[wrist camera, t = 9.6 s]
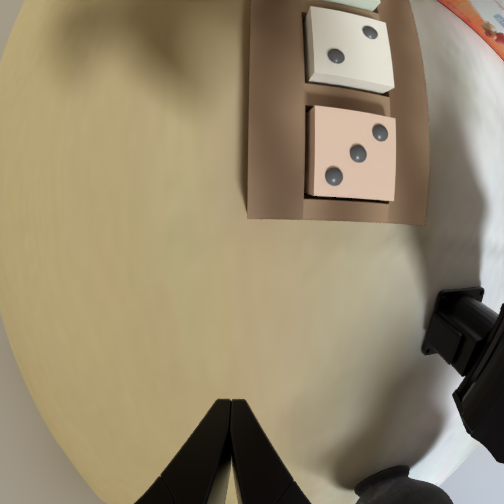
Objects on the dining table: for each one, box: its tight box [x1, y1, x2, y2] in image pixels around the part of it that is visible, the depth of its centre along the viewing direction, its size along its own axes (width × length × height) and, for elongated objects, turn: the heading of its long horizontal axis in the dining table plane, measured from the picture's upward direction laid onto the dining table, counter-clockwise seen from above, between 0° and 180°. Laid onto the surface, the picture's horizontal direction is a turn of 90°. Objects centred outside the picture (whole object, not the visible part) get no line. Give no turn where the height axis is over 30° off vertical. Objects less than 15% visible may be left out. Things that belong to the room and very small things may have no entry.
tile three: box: [304, 106, 396, 201], centre depth 15 cm, size 5×5×3 cm
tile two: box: [303, 6, 394, 95], centre depth 13 cm, size 5×5×3 cm
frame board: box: [247, 0, 429, 225], centre depth 14 cm, size 12×22×2 cm, turn 179°
